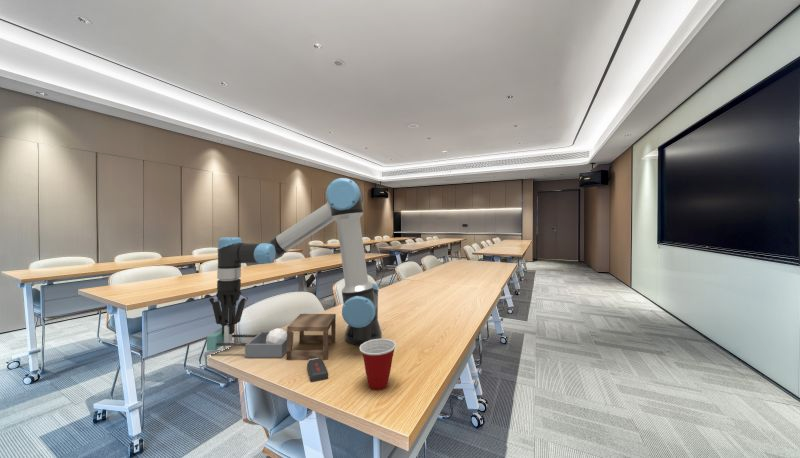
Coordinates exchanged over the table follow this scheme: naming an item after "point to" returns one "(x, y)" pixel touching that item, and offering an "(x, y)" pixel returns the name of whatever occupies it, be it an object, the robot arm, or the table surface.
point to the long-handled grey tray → (249, 344)
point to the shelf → (311, 324)
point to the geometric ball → (276, 336)
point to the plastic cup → (378, 361)
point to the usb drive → (317, 370)
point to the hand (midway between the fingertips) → (228, 342)
